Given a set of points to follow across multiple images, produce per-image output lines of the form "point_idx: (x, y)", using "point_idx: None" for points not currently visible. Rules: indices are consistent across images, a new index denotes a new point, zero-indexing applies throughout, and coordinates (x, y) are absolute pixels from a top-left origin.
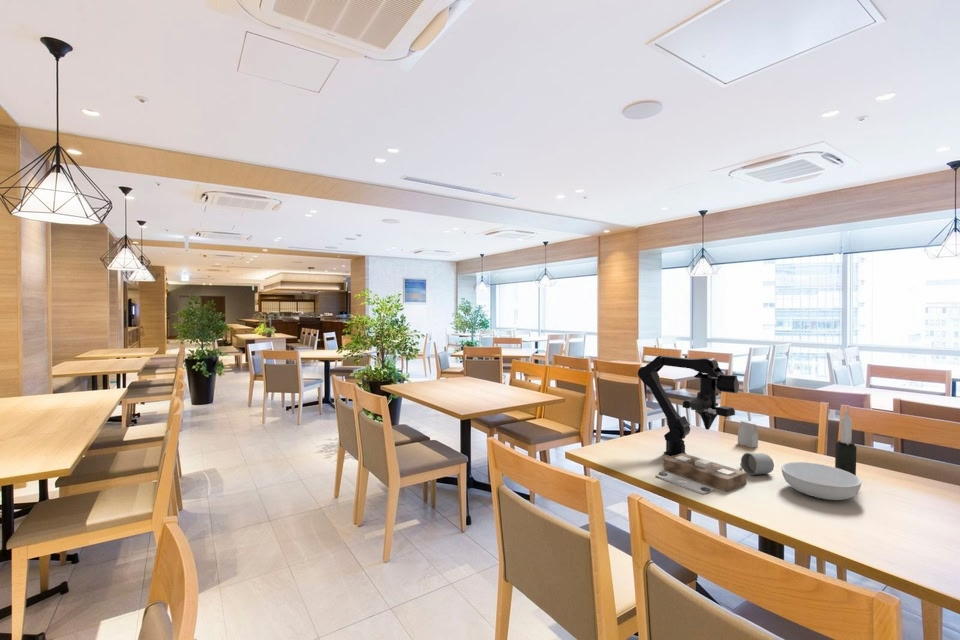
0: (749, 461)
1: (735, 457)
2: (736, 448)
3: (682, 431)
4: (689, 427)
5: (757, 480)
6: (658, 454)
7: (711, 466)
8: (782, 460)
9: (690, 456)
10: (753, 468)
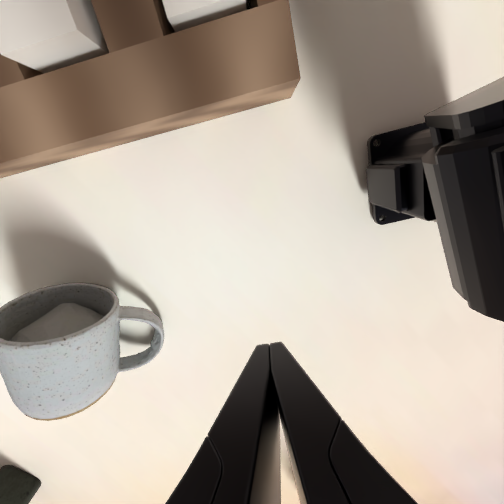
0: (74, 329)
1: None
2: None
3: (464, 140)
4: (494, 309)
5: (22, 260)
6: (466, 68)
7: (29, 63)
8: None
9: (223, 75)
10: (64, 310)
